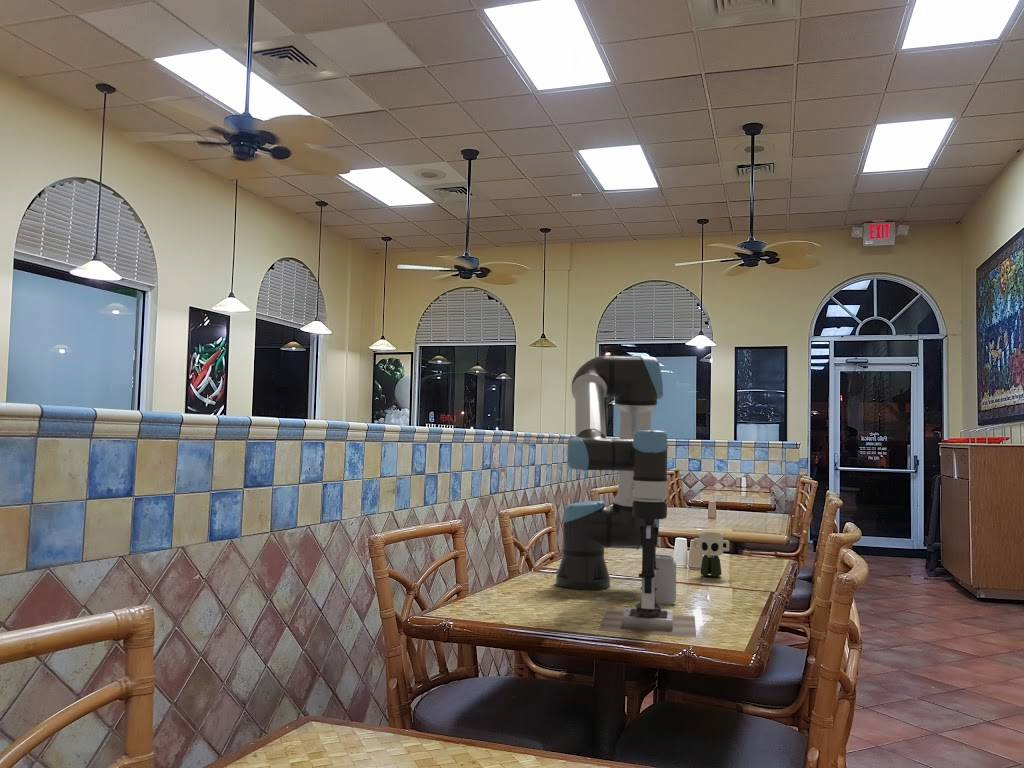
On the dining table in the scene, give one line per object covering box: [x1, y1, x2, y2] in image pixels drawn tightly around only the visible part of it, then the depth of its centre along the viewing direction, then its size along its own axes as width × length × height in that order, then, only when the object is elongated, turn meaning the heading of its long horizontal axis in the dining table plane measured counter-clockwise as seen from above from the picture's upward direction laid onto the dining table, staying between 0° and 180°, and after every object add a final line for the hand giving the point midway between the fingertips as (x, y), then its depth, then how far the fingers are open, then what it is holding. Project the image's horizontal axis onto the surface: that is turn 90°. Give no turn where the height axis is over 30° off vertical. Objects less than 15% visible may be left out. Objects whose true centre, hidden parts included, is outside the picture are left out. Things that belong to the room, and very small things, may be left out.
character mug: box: [692, 531, 730, 578], centre depth 244 cm, size 11×7×13 cm, turn 68°
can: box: [656, 554, 677, 607], centre depth 202 cm, size 8×8×12 cm
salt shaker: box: [634, 586, 663, 618], centre depth 175 cm, size 6×6×12 cm
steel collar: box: [623, 606, 674, 630], centre depth 175 cm, size 10×10×2 cm
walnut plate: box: [598, 610, 697, 638], centre depth 175 cm, size 20×20×1 cm
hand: (648, 603), depth 175 cm, fingers open, 9 cm apart
